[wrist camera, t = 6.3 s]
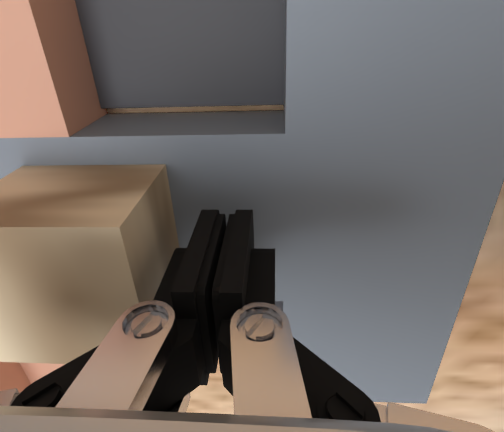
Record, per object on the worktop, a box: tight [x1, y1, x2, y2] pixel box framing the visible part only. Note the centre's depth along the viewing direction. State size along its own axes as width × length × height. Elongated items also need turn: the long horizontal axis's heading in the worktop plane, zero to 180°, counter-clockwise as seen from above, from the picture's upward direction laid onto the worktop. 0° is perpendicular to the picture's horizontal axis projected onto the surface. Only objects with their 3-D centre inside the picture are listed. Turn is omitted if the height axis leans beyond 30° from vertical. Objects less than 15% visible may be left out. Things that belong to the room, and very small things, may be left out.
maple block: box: [0, 164, 179, 364], centre depth 12 cm, size 5×5×4 cm
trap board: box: [0, 0, 504, 403], centre depth 13 cm, size 21×20×6 cm
